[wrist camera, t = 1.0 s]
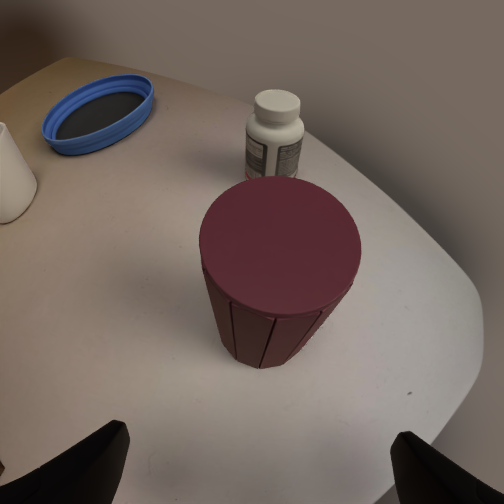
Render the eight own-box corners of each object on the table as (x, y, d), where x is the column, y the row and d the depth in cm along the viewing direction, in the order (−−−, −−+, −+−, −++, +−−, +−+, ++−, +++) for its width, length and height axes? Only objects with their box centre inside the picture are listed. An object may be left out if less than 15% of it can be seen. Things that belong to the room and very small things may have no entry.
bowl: (44, 178, 32) (33, 159, 29) (55, 114, 40) (49, 99, 37) (166, 131, 36) (162, 109, 33) (148, 80, 44) (145, 63, 41)
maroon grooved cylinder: (322, 331, 23) (390, 247, 12) (256, 385, 21) (273, 352, 10) (268, 272, 26) (286, 157, 15) (203, 318, 24) (168, 223, 12)
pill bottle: (293, 161, 33) (305, 88, 25) (296, 196, 30) (313, 118, 22) (245, 159, 33) (247, 84, 25) (243, 194, 30) (245, 114, 22)
